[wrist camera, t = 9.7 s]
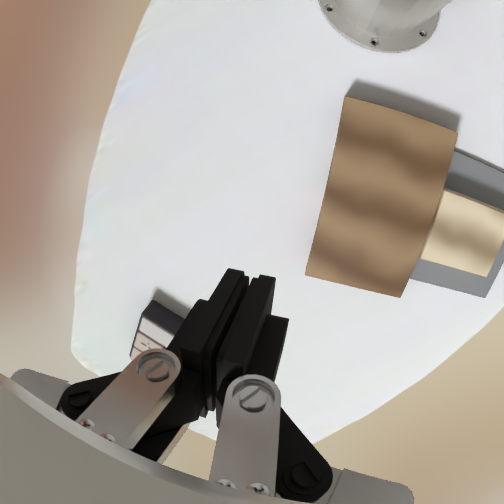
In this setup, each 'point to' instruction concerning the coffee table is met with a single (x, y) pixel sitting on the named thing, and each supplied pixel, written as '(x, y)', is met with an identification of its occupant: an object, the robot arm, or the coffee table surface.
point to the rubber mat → (483, 189)
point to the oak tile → (464, 233)
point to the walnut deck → (379, 197)
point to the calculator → (155, 329)
